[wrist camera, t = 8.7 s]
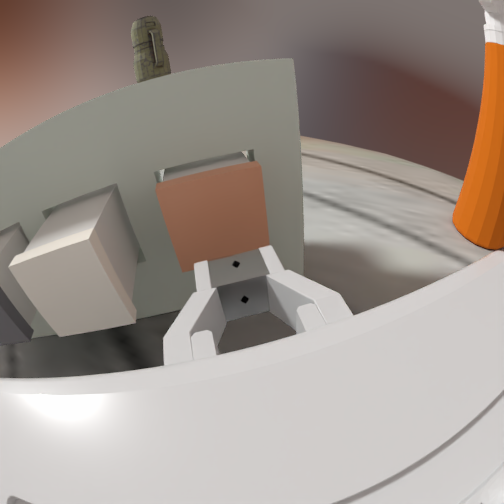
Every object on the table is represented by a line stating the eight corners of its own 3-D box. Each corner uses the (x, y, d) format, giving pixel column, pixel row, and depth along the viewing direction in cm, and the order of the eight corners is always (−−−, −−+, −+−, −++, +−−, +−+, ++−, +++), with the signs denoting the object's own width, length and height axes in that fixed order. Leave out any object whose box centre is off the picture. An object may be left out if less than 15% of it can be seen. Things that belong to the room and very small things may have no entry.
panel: (24, 339, 16) (-63, 199, 8) (47, 280, 22) (-10, 160, 14) (303, 278, 19) (293, 58, 10) (270, 222, 25) (252, 65, 17)
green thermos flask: (164, 146, 58) (139, 12, 37) (142, 145, 65) (119, 29, 44) (193, 135, 63) (172, 10, 42) (169, 134, 70) (149, 24, 49)
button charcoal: (-11, 346, 10) (-53, 293, 7) (28, 262, 17) (3, 216, 14) (30, 341, 10) (-19, 277, 7) (67, 249, 17) (42, 197, 14)
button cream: (59, 337, 11) (8, 266, 8) (92, 241, 17) (68, 186, 15) (135, 323, 11) (88, 238, 8) (147, 225, 18) (127, 164, 15)
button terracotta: (182, 272, 14) (155, 190, 11) (179, 200, 20) (165, 145, 18) (270, 251, 14) (261, 165, 11) (237, 187, 21) (228, 131, 18)
